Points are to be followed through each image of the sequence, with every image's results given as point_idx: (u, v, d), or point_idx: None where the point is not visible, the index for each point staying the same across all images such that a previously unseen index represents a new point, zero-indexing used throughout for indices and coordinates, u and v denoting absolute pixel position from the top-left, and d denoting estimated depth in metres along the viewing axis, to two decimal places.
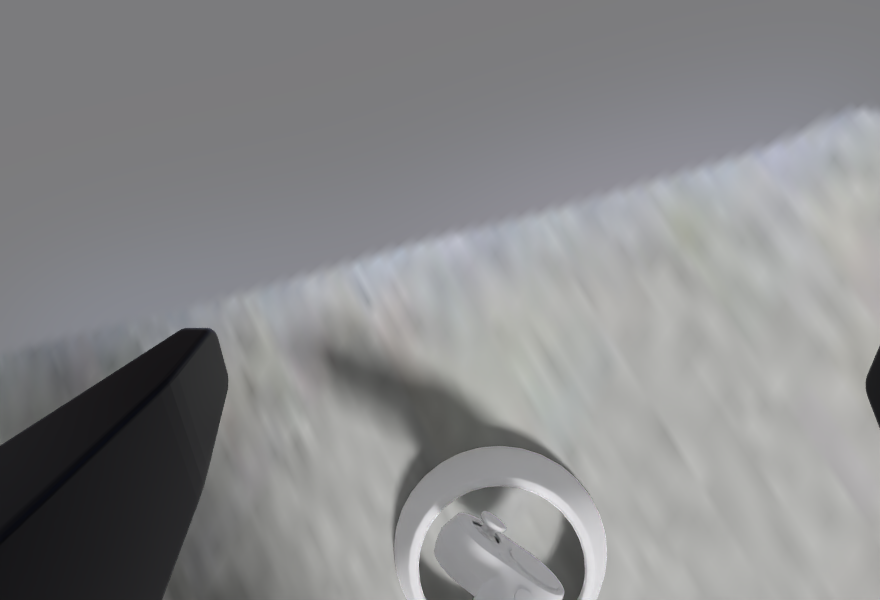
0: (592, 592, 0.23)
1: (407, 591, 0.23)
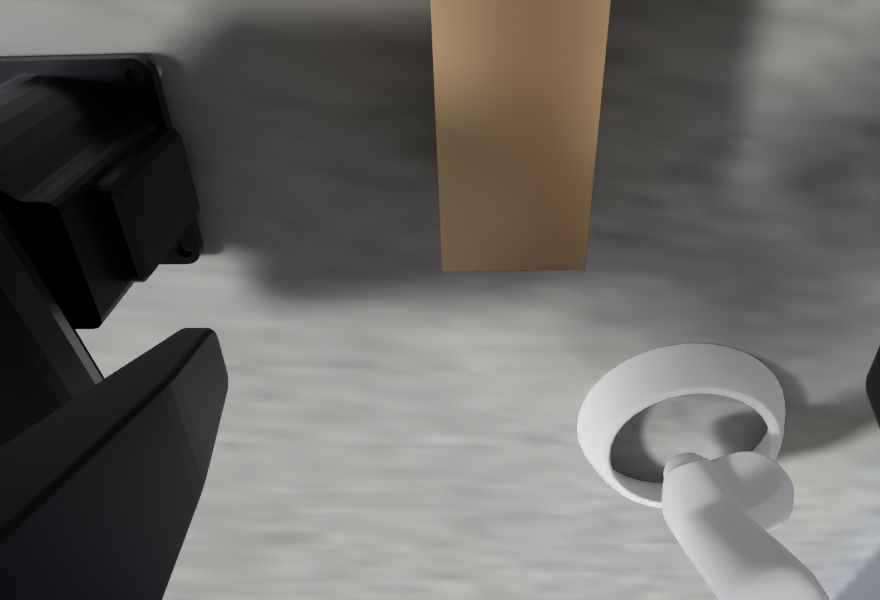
0: (622, 494, 0.26)
1: (721, 374, 0.23)
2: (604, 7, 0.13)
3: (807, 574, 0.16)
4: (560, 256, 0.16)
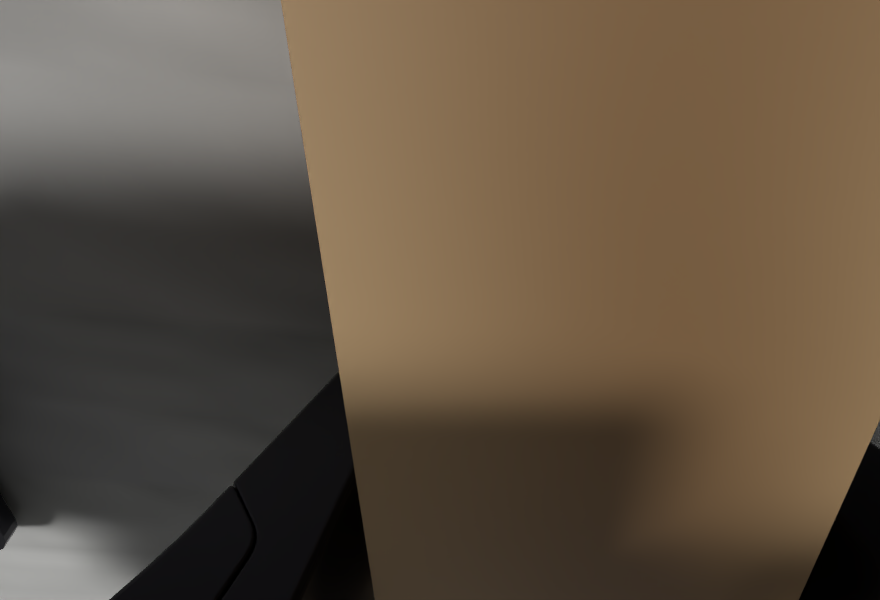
0: None
1: None
2: None
3: None
4: None
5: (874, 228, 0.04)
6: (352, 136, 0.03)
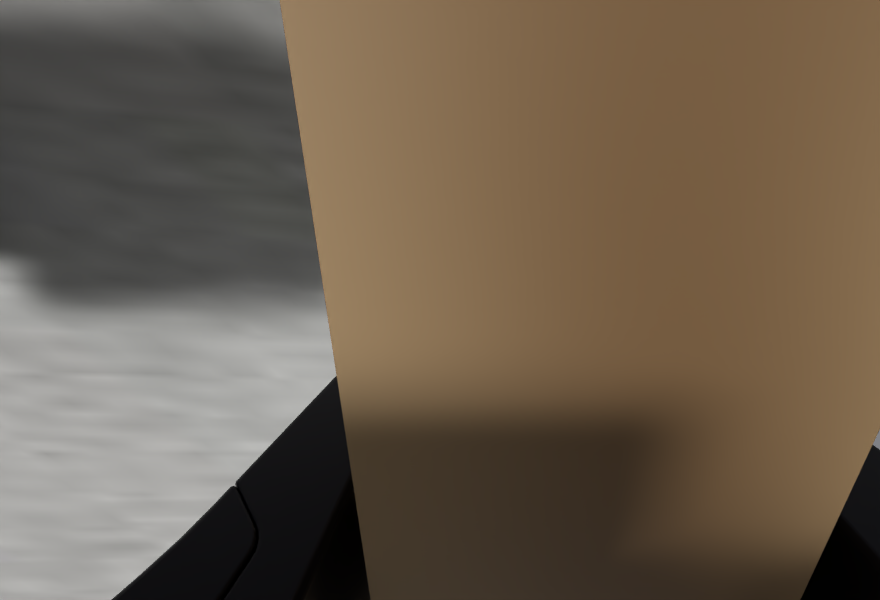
0: None
1: None
2: None
3: None
4: None
5: (879, 230, 0.04)
6: (351, 134, 0.03)
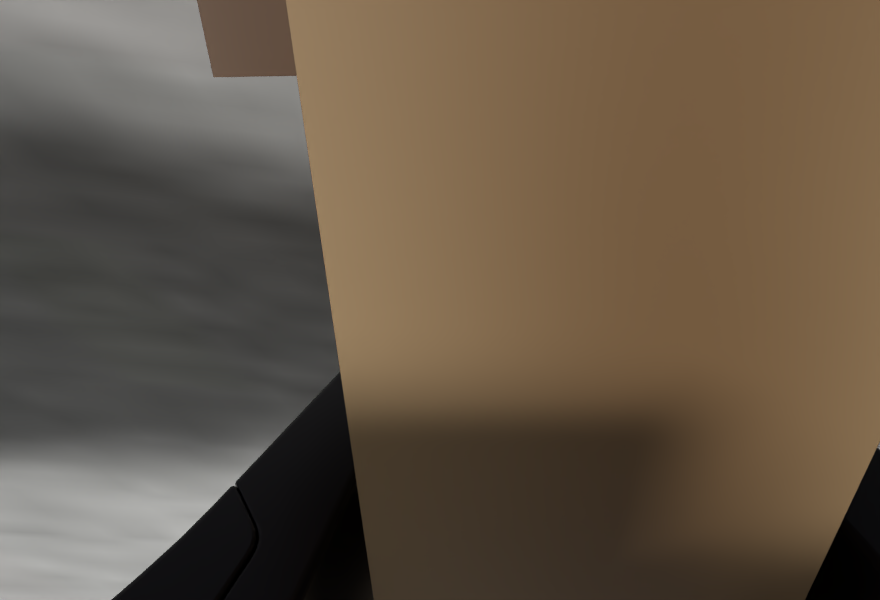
0: None
1: None
2: None
3: None
4: None
5: None
6: (356, 134, 0.03)
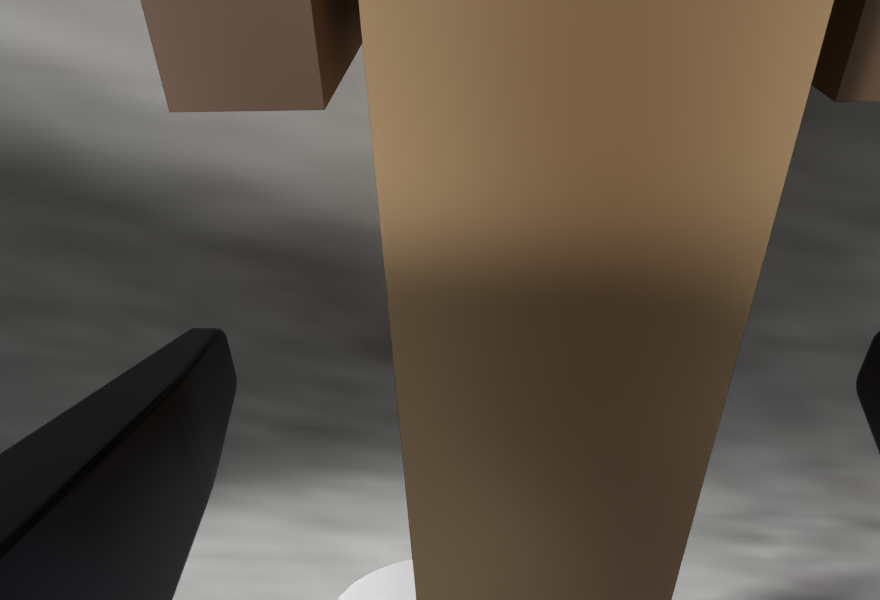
0: None
1: None
2: (761, 226, 0.06)
3: None
4: (626, 592, 0.09)
5: (741, 119, 0.05)
6: (396, 55, 0.05)
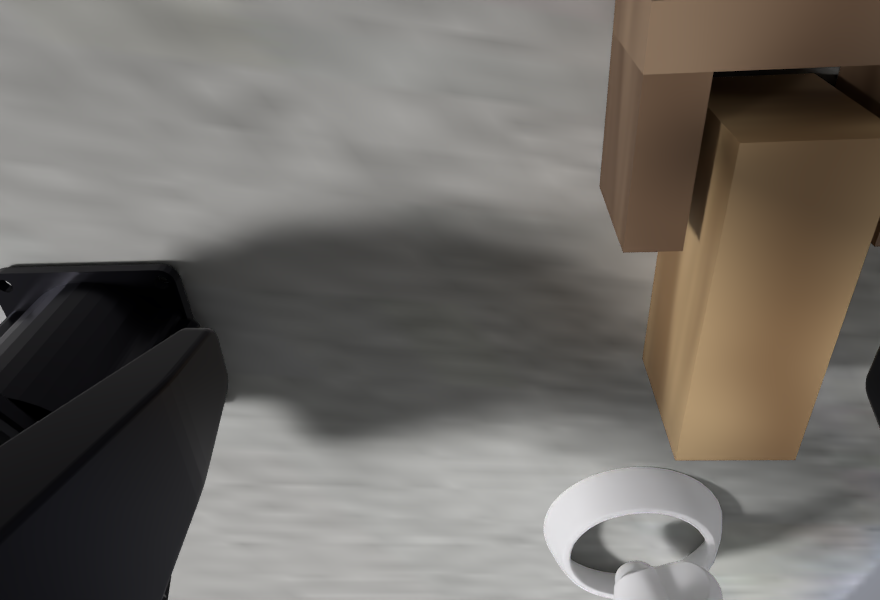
0: None
1: (662, 496, 0.27)
2: (849, 292, 0.17)
3: None
4: (776, 450, 0.20)
5: (844, 259, 0.16)
6: (731, 241, 0.16)
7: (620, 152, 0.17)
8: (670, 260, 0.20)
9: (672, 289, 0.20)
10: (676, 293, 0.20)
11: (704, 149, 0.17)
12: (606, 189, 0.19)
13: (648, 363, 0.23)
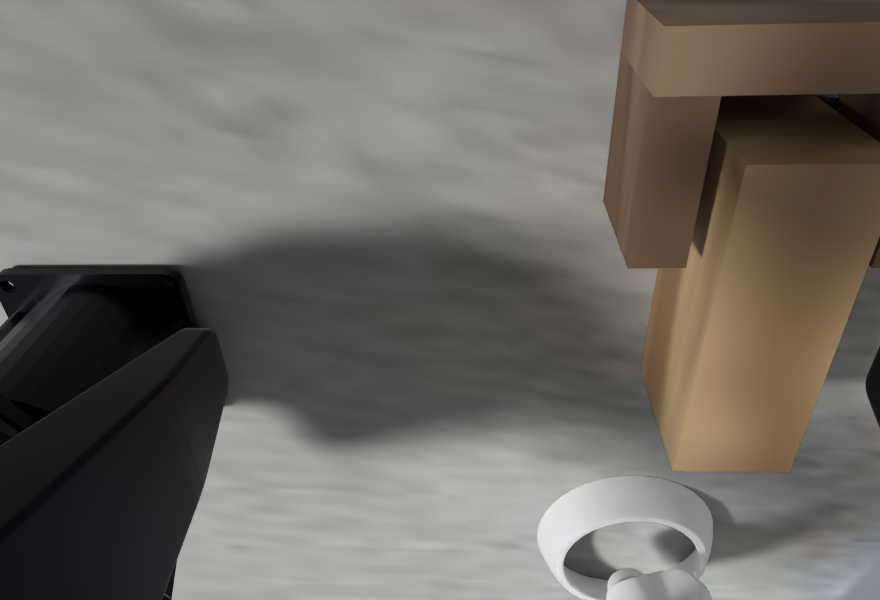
0: (576, 595, 0.30)
1: (655, 505, 0.27)
2: (846, 311, 0.17)
3: None
4: (771, 463, 0.20)
5: (843, 279, 0.17)
6: (734, 259, 0.16)
7: (626, 170, 0.18)
8: (671, 274, 0.21)
9: (672, 302, 0.21)
10: (677, 308, 0.20)
11: (709, 168, 0.17)
12: (610, 204, 0.20)
13: (646, 374, 0.24)
